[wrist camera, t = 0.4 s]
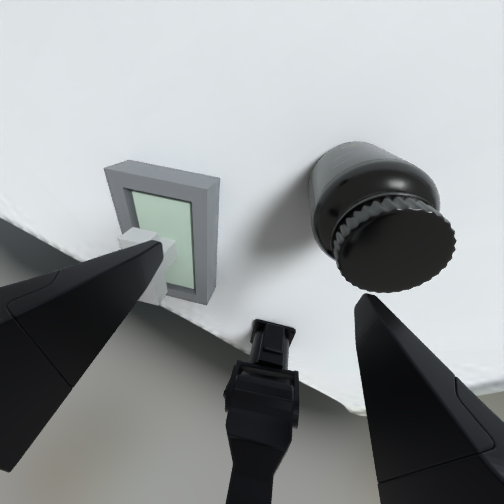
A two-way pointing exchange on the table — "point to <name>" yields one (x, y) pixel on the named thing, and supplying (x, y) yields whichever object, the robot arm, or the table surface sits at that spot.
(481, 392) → the table surface
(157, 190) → the case
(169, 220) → the cover
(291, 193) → the table surface
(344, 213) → the supplement bottle
